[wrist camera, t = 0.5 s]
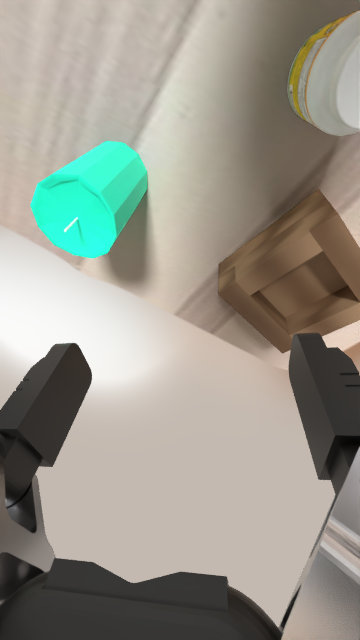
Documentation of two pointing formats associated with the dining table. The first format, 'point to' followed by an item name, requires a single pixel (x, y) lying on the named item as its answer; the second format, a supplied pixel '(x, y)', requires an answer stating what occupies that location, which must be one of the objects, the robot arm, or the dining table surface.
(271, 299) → the walnut tray
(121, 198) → the candle
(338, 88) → the supplement bottle
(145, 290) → the dining table surface
